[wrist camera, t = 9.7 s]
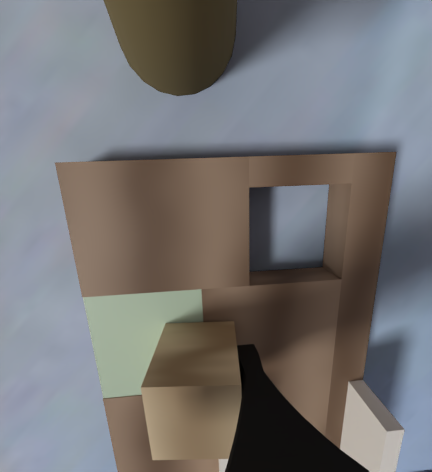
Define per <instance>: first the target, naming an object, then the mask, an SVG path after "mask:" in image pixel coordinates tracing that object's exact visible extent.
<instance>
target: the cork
mask: <svg viewBox="0 0 432 472" xmlns="http://www.w3.org/2000/svg"><path fill="white" fill-rule="evenodd" d="M104 3H105V5H106V8H107V11H108V14H109V16H110V19H111V22H112V25H113V28H114V30H115V33H116V36H117V39H118V41H119V44H120V47H121V49H122V51H123V53H124V55H125V57H126V59H127V61H128V63H129V65H130V67H131V68H132V69H133V70H134V71H135V72H136V73H137V75H138V76H139V77H140V78H141V79H142V80H143V81H144V82H145V83H147V84H148V85H150V86H152V87H153V88H155V89H156V90H158V91H160V92H163V93H168V94H172V95H176V96H181V95H190V94H196V93H198V92H200V91H202V90H204V89H206V88H208V87H210V86H211V85H212V84H213V83H214V82H215V81H216V80H217V79H218V78H219V77H220V76H221V75H222V74H223V72H224V70H225V68H226V66H227V64H228V62H229V60H230V58H231V56H232V52H233V46H234V41H235V35H236V14H237V0H104Z"/></svg>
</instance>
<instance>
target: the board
mask: <svg viewBox="0 0 432 472" xmlns="http://www.w3.org/2000/svg"><path fill="white" fill-rule="evenodd" d="M395 158H396V152H378V153H346V154H315V155H283V156H251V157H220V158H188V159H157V160H125V161H93V162H62V163H55V165H56V170H57V175H58V180H59V185H60V190H61V194H62V199H63V204H64V209H65V214H66V219H67V224H68V229H69V234H70V239H71V244H72V249H73V254H74V258H75V263H76V268H77V273H78V278H79V283H80V288H81V293H82V297H96V296H110V295H125V294H139V293H154V292H168V291H183V290H197V289H201V292H202V308H203V322H223V321H234V324H235V333H236V342H237V345H247V344H254V345H255V347H256V349H257V351H258V353H259V356H260V360H261V363H262V367H263V370H264V372H265V373H266V375H267V376H268V377H269V379H270V380H271V381H272V382H273V384H274V385H275V386H276V387H277V389H278V390H279V391H280V392H281V393H282V395H283V396H284V397H285V398H286V399H287V400H288V401H289V402H290V403H291V404H292V406H293V407H294V408H295V409H296V410H297V411H298V412H299V413H300V414H301V415H302V416H303V417H304V418H305V419H306V420H307V421H308V422H310V423H311V424H312V425H313V426H314V427H315V428H316V429H317V430H318V431H319V432H321V433H322V434H323V435H324V436H325V437H326V438H327V439H328V440H330V441H331V442H332V443H333V444H335V445H336V446H337V447H338V448H339V449H340V444H341V436H342V428H343V421H344V413H345V405H346V397H347V390H348V382H349V381H357V380H363V375H364V368H365V361H366V354H367V348H368V341H369V334H370V327H371V321H372V314H373V307H374V300H375V294H376V287H377V280H378V273H379V266H380V260H381V253H382V246H383V239H384V233H385V226H386V219H387V212H388V205H389V199H390V192H391V185H392V178H393V172H394V165H395ZM323 184H329V193H328V206H327V218H326V230H325V242H324V255H323V267H315V268H300V269H285V270H269V271H254V272H249V187H274V186H299V185H323ZM103 401H104V406H105V411H106V416H107V421H108V426H109V431H110V436H111V441H112V446H113V451H114V455H115V460H116V465H117V470H118V472H219V459H194V460H152V454H151V448H150V442H149V436H148V430H147V423H146V417H145V411H144V405H143V399H142V395H134V396H123V397H113V398H103Z"/></svg>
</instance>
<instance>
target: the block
mask: <svg viewBox="0 0 432 472" xmlns="http://www.w3.org/2000/svg"><path fill="white" fill-rule="evenodd" d="M141 393H142V399H143V405H144V411H145V417H146V423H147V430H148V436H149V442H150V448H151V454H152V460H194V459H229V456H230V452H231V448H232V444H233V440H234V436H235V432H236V427H237V422H238V417H239V411H240V405H241V398H242V391H241V377H240V368H239V360H238V351H237V342H236V333H235V324H234V321H223V322H193V323H165V326H164V329H163V331H162V334H161V336H160V339H159V341H158V344H157V347H156V349H155V352H154V354H153V357H152V360H151V362H150V365H149V367H148V370H147V372H146V375H145V378H144V380H143V383H142V385H141Z"/></svg>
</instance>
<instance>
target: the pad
mask: <svg viewBox="0 0 432 472" xmlns="http://www.w3.org/2000/svg"><path fill="white" fill-rule="evenodd" d="M83 300H84V305H85V310H86V315H87V320H88V325H89V330H90V334H91V339H92V344H93V349H94V354H95V359H96V364H97V369H98V374H99V379H100V384H101V389H102V394H103V398H113V397H123V396H134V395H142V393H141V385H142V383H143V380H144V378H145V375H146V372H147V370H148V367H149V365H150V362H151V360H152V357H153V354H154V352H155V349H156V347H157V344H158V341H159V339H160V336H161V334H162V331H163V329H164V326H165V323H193V322H203V308H202V292H201V289H197V290H183V291H168V292H154V293H139V294H125V295H110V296H96V297H83Z"/></svg>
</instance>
